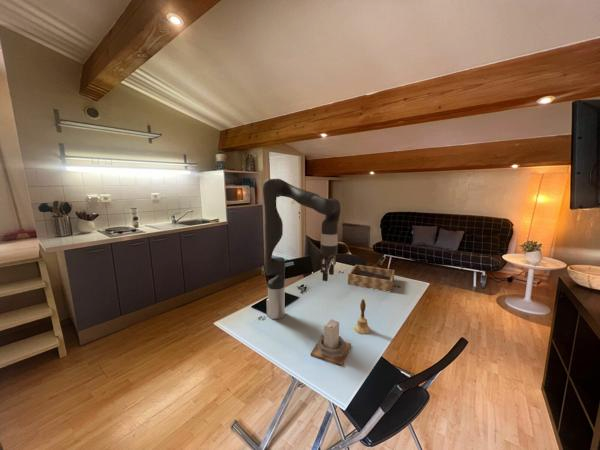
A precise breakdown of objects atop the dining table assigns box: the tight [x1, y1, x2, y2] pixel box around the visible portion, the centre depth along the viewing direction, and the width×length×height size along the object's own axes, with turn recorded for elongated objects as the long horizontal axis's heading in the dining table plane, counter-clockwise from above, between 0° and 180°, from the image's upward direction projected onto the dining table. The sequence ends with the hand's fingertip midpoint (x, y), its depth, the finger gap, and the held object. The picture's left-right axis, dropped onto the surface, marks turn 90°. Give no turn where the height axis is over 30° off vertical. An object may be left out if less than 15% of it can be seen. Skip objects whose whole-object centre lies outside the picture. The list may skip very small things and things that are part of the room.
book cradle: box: [347, 264, 395, 292], centre depth 178 cm, size 30×24×8 cm
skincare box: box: [323, 319, 340, 350], centre depth 103 cm, size 6×4×12 cm
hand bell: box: [353, 298, 371, 335], centre depth 118 cm, size 8×8×16 cm
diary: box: [355, 270, 391, 280], centre depth 179 cm, size 19×25×5 cm
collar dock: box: [310, 334, 352, 367], centre depth 104 cm, size 14×14×4 cm
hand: (328, 277), depth 108 cm, fingers open, 8 cm apart
